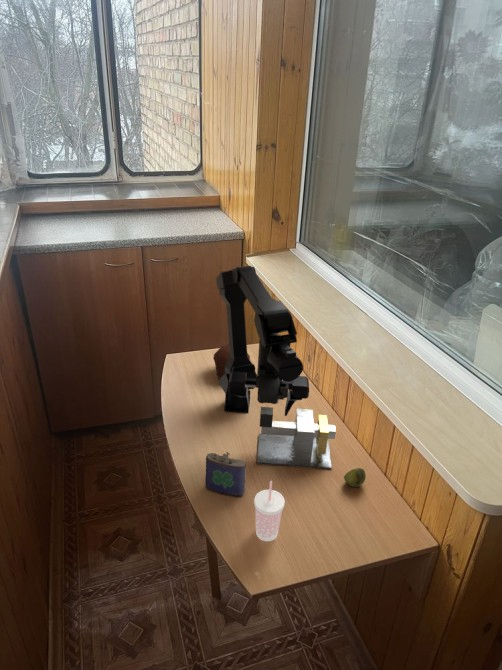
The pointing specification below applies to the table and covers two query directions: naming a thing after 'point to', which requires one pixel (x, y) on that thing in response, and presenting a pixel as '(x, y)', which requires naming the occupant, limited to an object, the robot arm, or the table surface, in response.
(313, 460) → the block
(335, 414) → the table surface
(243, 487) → the flask
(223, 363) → the muffin
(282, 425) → the shaft
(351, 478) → the lime
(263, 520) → the beverage cup
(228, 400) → the robot arm
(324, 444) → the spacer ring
